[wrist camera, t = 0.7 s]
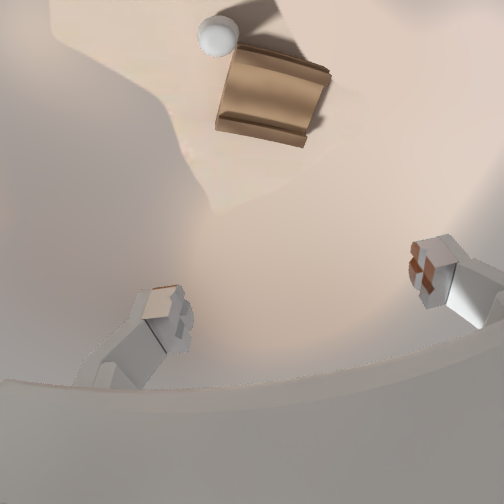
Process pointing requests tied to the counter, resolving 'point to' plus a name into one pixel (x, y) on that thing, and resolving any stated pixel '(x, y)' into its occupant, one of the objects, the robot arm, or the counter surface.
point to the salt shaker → (218, 36)
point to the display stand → (270, 95)
